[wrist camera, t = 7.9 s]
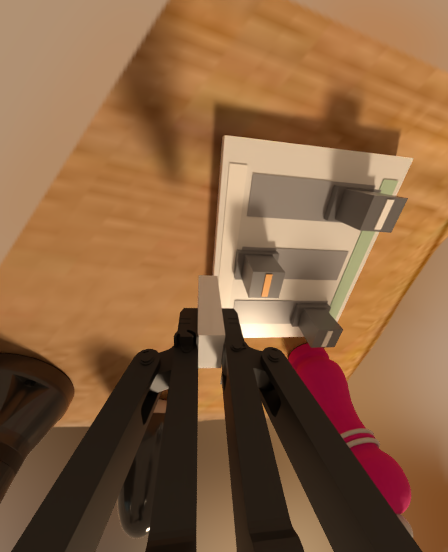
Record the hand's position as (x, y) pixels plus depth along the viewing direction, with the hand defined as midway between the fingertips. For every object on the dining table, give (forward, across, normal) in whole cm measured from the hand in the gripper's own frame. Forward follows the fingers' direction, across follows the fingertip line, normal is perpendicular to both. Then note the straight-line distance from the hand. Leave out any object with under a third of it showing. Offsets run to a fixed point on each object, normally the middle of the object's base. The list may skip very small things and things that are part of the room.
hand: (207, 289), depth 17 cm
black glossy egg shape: (+8, -7, -31) cm, 33 cm away
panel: (+8, +10, 0) cm, 13 cm away
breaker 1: (+6, +14, -7) cm, 17 cm away
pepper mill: (+8, +18, -18) cm, 27 cm away
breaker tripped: (+6, +5, 0) cm, 8 cm away
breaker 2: (+6, +14, +7) cm, 17 cm away
